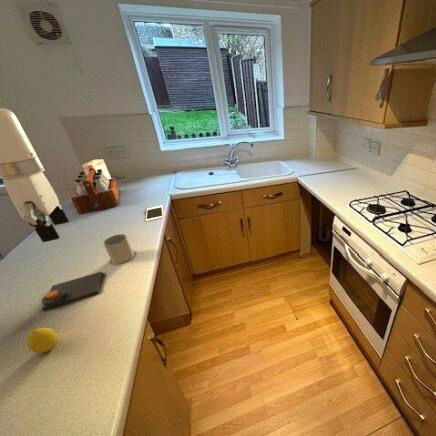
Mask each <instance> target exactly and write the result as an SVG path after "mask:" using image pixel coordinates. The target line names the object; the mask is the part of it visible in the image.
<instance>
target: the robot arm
mask: <svg viewBox="0 0 436 436" xmlns="http://www.w3.org/2000/svg"><path fill="white" fill-rule="evenodd" d="M45 171H46V169H45V167H44V165H43V164H42V161H41V160H40V158H39V156H38V154H37V152H36V151H35V148H34V147H33V145H32V143H31V141H30V139H29V138H28V136H27V134H26V132H25V130H24V128H23V126H22V125H21V123H20V121H19V119H18V117H17V116H16V114H15V113H14V112H13V111H11V110H10V109H8V108H2V107H0V180H2V182H3V185H4V187H5V189H6V192H7V194H8V197H9V198H10V200H11V201H12V203H13V206H14V207H15V208H16V210H17V212H18V214H19V216H20V218H22V219H23V220H25V221H26V222H27V223H28V225H29V226H31V228H32V229H33V230H35V233H36V234H37V235H38V237H39V239H40V240H41V242H43V243H47V242H52V241H55V240H56V241H57V240H59V239H60V235H59V233H58V231H57V230H56V228H55V226H58V225H63V224H68V223H69V222H70V221H69V218H68V217H67V214H66V213H65V211H64V209H63V207H62V205H61V203H59V201H60V200H59V198H58V196H57V194H56V192H55V190H54V188H53V186H52V185H51V183H50V181H49V180H48V178H47V177H46V175H45V174H44V173H43V172H45ZM50 220H51V222H52V223H50Z"/></svg>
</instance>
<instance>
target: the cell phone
mask: <svg viewBox="0 0 436 436" xmlns="http://www.w3.org/2000/svg"><path fill="white" fill-rule="evenodd" d="M145 212H146V213H145V222H151V221H155V220H161V219H163V218H164V206H163V205H158V206H152V207H147V208H146V211H145Z"/></svg>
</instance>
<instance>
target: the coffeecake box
mask: <svg viewBox="0 0 436 436" xmlns="http://www.w3.org/2000/svg"><path fill="white" fill-rule="evenodd" d="M81 167H82V169H83V172H85V174H86V176H88V174H89V169H90V168H94V169H95V170H96V172H97V169H102V171H103V174H104V175H105V176H106V177H107V178H108V179H112V177H111V174H110V172H109V170H108V167H107V165H106V163H105V161H104V159H102V158H101V159H93V160H90V161H89V162H86V163H84V164H81ZM92 182H93V179H92Z"/></svg>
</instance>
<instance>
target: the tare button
mask: <svg viewBox="0 0 436 436" xmlns="http://www.w3.org/2000/svg"><path fill="white" fill-rule="evenodd" d="M59 295H60V294H59V293H58V291H56V290H55V291H51V292H50V291H49V292H47V294H45V296H46V297H47V299H48V300H53V299H55V298H57V297H58V296H59Z"/></svg>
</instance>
